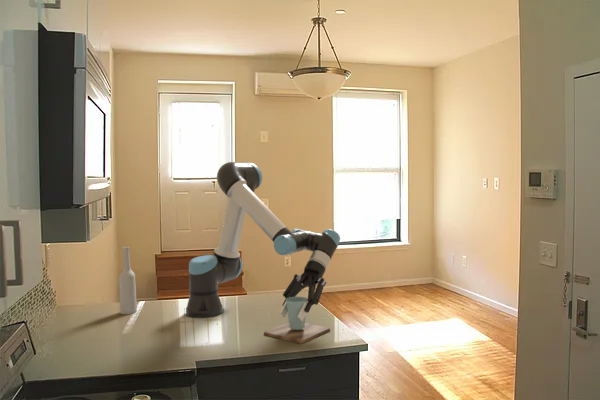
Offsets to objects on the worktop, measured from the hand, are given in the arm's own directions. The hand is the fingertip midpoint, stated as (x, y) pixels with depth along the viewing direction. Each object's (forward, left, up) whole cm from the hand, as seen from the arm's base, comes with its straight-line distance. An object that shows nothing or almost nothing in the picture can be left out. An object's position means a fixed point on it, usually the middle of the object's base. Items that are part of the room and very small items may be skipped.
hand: (290, 317), depth 176 cm
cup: (0, +3, -5) cm, 6 cm away
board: (0, +3, -6) cm, 7 cm away
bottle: (-76, -17, -7) cm, 78 cm away
